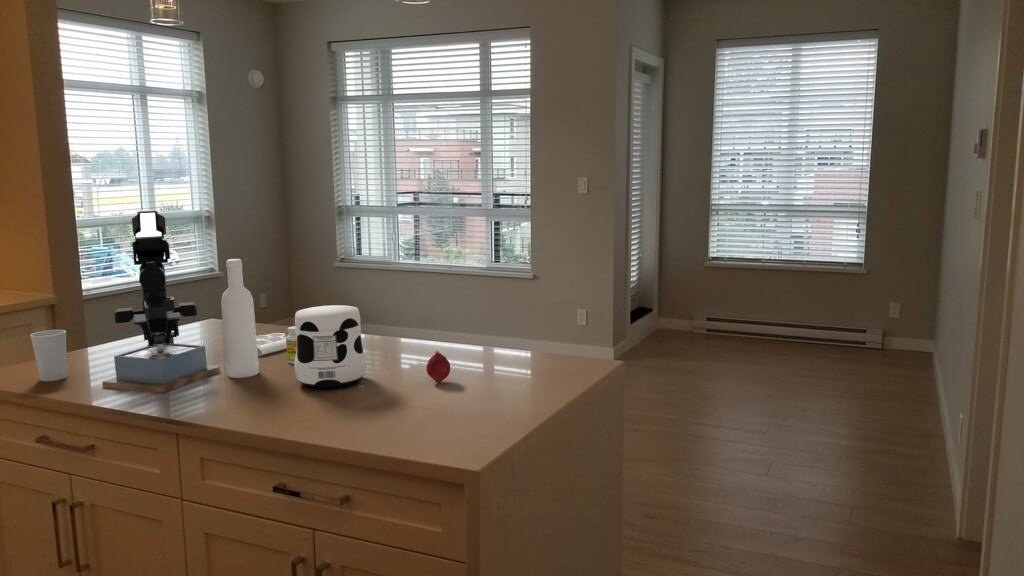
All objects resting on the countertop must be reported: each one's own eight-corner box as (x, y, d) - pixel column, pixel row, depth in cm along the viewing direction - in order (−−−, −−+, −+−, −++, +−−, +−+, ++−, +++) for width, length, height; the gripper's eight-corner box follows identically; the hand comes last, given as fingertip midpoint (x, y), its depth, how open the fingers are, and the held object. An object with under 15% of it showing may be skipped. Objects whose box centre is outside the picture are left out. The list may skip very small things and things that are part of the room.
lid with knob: (160, 347, 209) (158, 326, 208) (198, 350, 204) (196, 329, 203) (121, 358, 197) (119, 337, 196) (160, 362, 192) (158, 340, 192)
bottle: (221, 374, 205) (211, 260, 200) (249, 368, 210) (240, 256, 205) (237, 380, 199) (226, 262, 194) (265, 373, 205) (256, 259, 200)
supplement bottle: (311, 359, 218) (309, 325, 216) (301, 364, 213) (298, 329, 211) (294, 358, 220) (292, 324, 218) (283, 363, 215) (281, 329, 213)
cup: (55, 382, 201) (49, 336, 199) (28, 381, 203) (22, 336, 201) (78, 374, 209) (73, 330, 207) (52, 373, 210) (46, 329, 209)
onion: (454, 380, 194) (453, 348, 193) (444, 386, 189) (443, 354, 187) (433, 378, 196) (432, 347, 194) (423, 384, 190) (421, 352, 189)
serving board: (164, 366, 214) (163, 361, 214) (220, 371, 207) (219, 366, 207) (102, 387, 196) (102, 381, 196) (162, 393, 189) (161, 387, 189)
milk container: (342, 369, 207) (338, 301, 204) (381, 381, 195) (377, 309, 192) (282, 383, 195) (277, 312, 192) (319, 397, 183) (314, 321, 180)
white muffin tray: (252, 360, 220) (220, 354, 228) (303, 347, 235) (271, 341, 243) (251, 349, 220) (219, 343, 228) (302, 336, 234) (270, 331, 242)
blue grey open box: (156, 363, 212) (153, 342, 211) (207, 368, 206) (204, 345, 205) (109, 378, 198) (107, 355, 197) (163, 384, 192) (160, 360, 191)
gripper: (110, 293, 187) (117, 357, 189) (195, 286, 194) (200, 347, 197) (112, 286, 197) (119, 347, 199) (193, 280, 204) (198, 339, 207)
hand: (159, 345), depth 200 cm, fingers closed on lid with knob, 3 cm apart
